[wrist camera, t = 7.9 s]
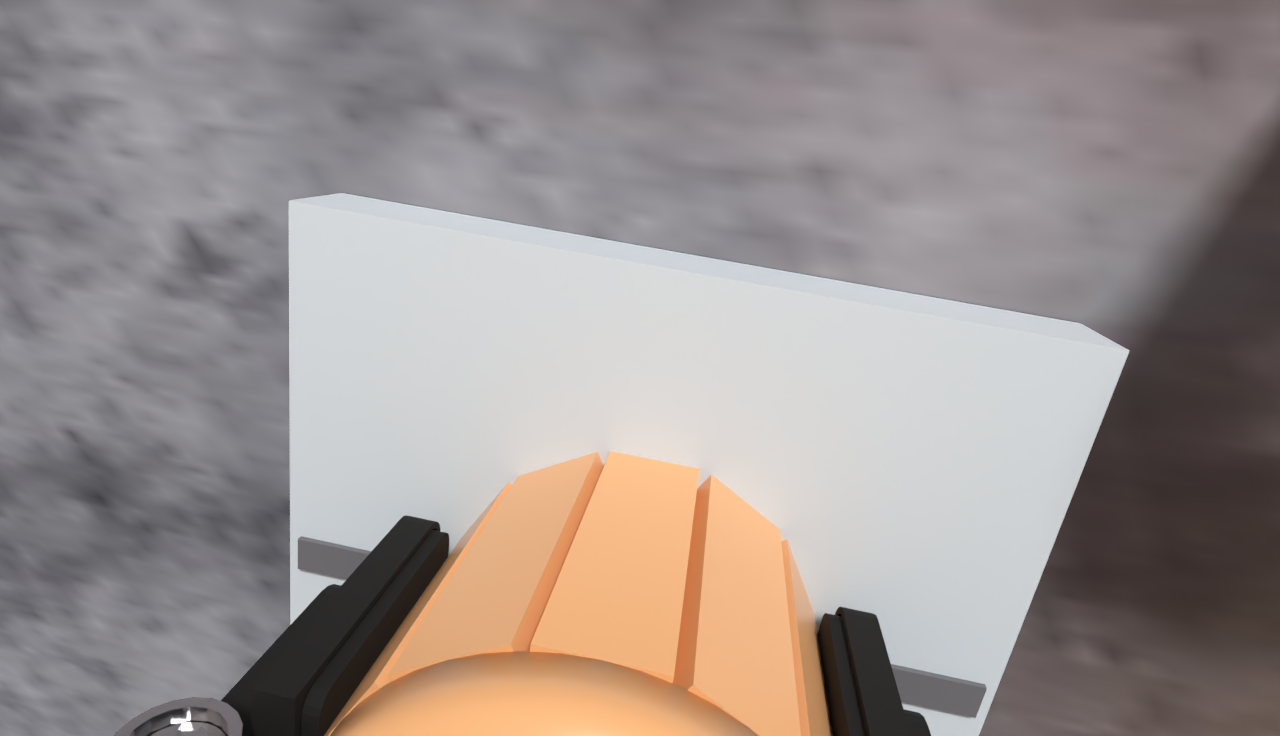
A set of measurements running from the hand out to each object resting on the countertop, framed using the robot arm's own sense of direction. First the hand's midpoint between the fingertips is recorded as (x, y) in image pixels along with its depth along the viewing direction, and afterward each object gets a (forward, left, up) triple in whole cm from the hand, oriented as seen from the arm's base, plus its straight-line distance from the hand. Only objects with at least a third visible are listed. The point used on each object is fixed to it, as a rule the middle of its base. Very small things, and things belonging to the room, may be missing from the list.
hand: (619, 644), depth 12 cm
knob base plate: (0, 0, -2) cm, 2 cm away
